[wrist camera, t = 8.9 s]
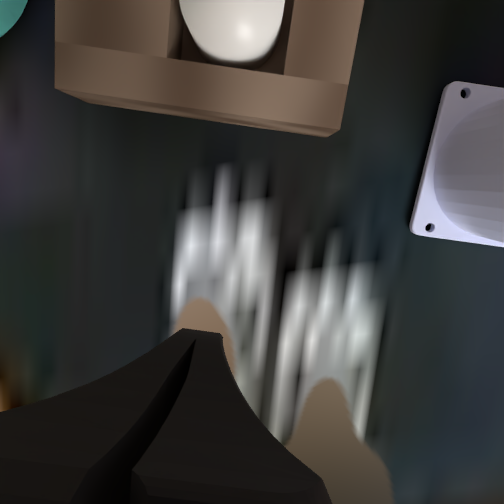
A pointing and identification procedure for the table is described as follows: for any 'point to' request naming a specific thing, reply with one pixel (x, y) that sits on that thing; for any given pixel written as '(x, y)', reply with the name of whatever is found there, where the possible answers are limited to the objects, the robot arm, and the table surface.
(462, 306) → the table surface
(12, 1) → the decorative dice
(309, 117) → the button panel
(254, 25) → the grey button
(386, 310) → the table surface
